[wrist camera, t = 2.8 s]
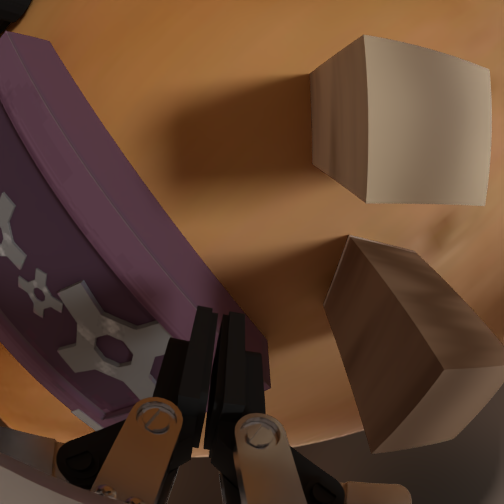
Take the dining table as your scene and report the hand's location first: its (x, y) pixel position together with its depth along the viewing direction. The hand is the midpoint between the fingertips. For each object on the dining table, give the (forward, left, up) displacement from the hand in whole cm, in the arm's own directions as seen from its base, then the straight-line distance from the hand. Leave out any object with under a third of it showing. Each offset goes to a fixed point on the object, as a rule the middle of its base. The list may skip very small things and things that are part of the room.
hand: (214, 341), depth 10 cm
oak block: (-5, -9, -8) cm, 13 cm away
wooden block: (-9, 0, -8) cm, 12 cm away
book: (+11, +3, -8) cm, 14 cm away
